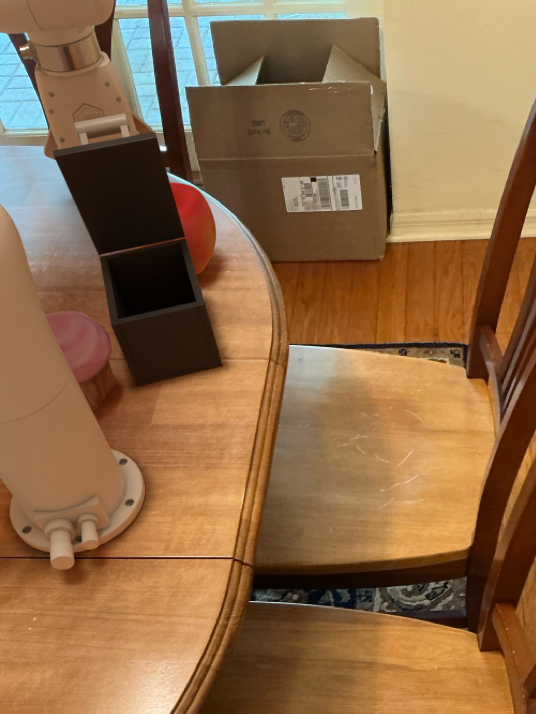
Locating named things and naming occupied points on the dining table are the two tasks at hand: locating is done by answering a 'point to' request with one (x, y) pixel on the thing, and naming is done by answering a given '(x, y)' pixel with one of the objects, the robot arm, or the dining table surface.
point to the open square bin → (159, 312)
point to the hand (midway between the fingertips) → (117, 192)
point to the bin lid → (120, 186)
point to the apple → (194, 224)
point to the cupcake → (85, 352)
